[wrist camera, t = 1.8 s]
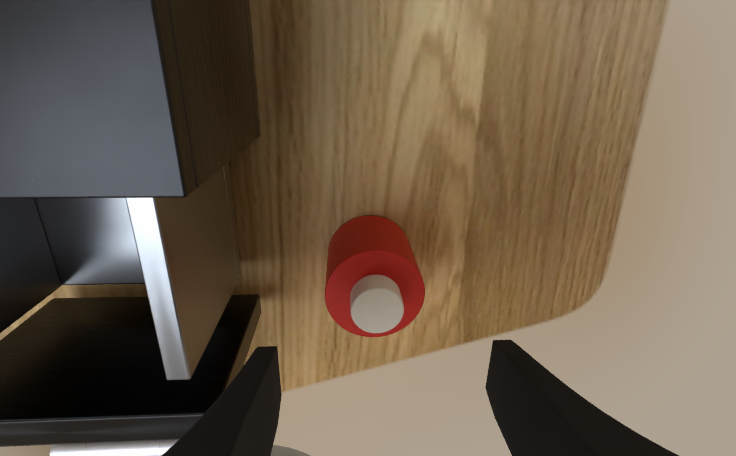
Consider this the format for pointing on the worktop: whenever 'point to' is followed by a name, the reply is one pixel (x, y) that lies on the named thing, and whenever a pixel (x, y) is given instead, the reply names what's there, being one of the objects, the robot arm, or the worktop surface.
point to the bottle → (372, 278)
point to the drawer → (119, 319)
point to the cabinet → (123, 96)
